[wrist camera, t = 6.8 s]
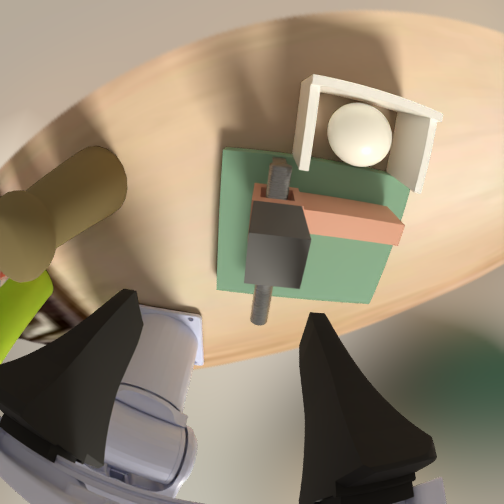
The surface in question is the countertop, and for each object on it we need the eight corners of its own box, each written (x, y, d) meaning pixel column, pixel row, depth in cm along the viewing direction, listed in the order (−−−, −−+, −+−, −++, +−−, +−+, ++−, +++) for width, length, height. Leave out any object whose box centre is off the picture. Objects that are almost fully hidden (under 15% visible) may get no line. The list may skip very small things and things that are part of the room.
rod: (252, 294, 22) (250, 324, 19) (269, 154, 16) (269, 166, 13) (267, 295, 22) (266, 326, 19) (288, 156, 16) (293, 169, 13)
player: (251, 213, 18) (241, 283, 12) (255, 178, 17) (246, 232, 10) (380, 231, 18) (424, 298, 12) (389, 199, 17) (443, 257, 10)
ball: (336, 83, 12) (321, 115, 16) (337, 145, 12) (319, 168, 16) (400, 101, 12) (375, 127, 16) (405, 161, 12) (376, 179, 16)
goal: (292, 153, 17) (300, 172, 13) (301, 81, 15) (313, 74, 10) (391, 172, 17) (424, 197, 13) (404, 107, 15) (443, 113, 10)
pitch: (218, 280, 23) (216, 289, 22) (225, 146, 17) (222, 149, 16) (365, 295, 23) (369, 303, 22) (405, 176, 17) (412, 181, 16)
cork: (63, 196, 20) (-24, 263, 10) (80, 134, 17) (-30, 180, 7) (114, 228, 21) (37, 317, 12) (138, 166, 18) (37, 237, 9)
